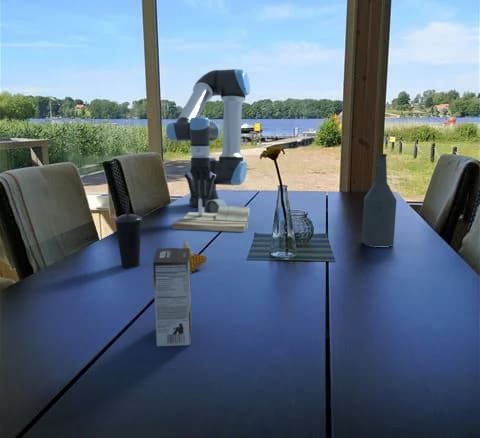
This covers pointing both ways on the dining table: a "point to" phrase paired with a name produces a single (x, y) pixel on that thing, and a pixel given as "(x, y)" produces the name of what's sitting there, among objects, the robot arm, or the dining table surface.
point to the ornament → (194, 258)
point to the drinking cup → (129, 237)
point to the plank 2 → (232, 213)
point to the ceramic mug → (213, 205)
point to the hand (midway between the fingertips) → (201, 214)
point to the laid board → (210, 225)
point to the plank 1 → (196, 216)
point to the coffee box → (172, 296)
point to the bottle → (379, 210)
